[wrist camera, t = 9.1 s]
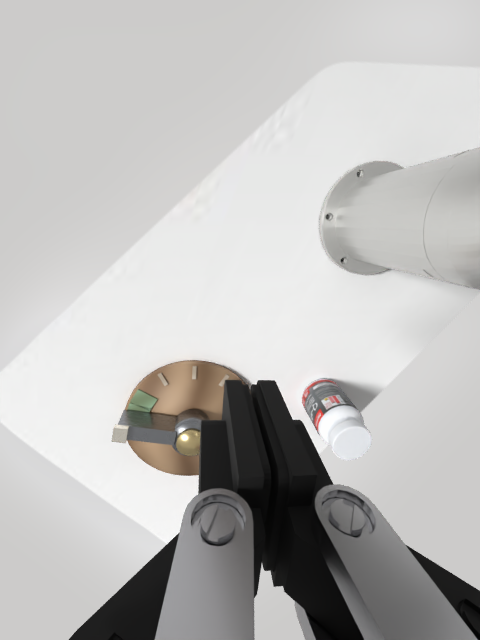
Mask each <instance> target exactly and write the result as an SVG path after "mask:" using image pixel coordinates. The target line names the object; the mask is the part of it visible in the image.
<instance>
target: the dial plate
mask: <svg viewBox="0 0 480 640" xmlns="http://www.w3.org/2000/svg"><path fill="white" fill-rule="evenodd" d="M225 380H242V379H241V378H240V377H238V376H237V375H236V374H235V373H233V372H232V371H230V370H229V369H227V368H225V367H223V366H220V365H217V364H214V363H211V362H206V361H197V360H190V361H180V362H175V363H171V364H168V365H165V366H163V367H160V368H158V369H157V370H155V371H153V372H151V373H150V374H149V375H147V376H146V377H145V378H144V379H143V380H142V381H141V382H140V383H139V384H138V385H137V386H136V388H135V389H134V390H133V392H132V394H131V396H130V398H129V400H128V403H127V405H126V408H125V410H130V411H138V412H145V413H152V414H160V415H167V416H174V417H176V416H177V415H178V414H179V413H181V412H183V411H185V410H188V409H197V410H201V411H203V412H204V413H206V414H207V415H208V417H209V419H210V420H222V408H223V395H224V383H225ZM242 384H245V383H244V382H243V380H242ZM249 391H250V390H249ZM250 394H251V391H250ZM127 441H128V443H129V445H130V446H131V448H132V449H133V451H134V452H135V453H136V454H137V456H138V457H139V458H141V459H142V460H143V461H144V462H145V463H147V464H149V465H150V466H152V467H154V468H156V469H158V470H160V471H163V472H166V473H170V474H175V475H186V476H191V475H199V455H200V454H199V455H196V456H184V455H181V454H179V453H178V452H176V451H175V450H174V448H173V447H172V445H167V444H158V443H150V442H141V441H133V440H127Z"/></svg>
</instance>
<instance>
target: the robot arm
mask: <svg viewBox="0 0 480 640" xmlns="http://www.w3.org/2000/svg"><path fill="white" fill-rule="evenodd" d="M357 173H358V176H357ZM326 215H328V219H326ZM319 232H320V238H321V242H322V245H323V248H324V250H325V252H326V253H327V255H328V257H329V258H330V259H331V260H332V261H333V262H334V263H335V264H336V265H337V266H339V267H340V268H342V269H344V270H346V271H349V272H352V273H355V274H362V275H370V274H377V273H380V272H383V271H386V270H388V269H389V268H390V269H394V270H399V271H403V272H407V273H411V274H415V275H419V276H423V277H427V278H432V279H436V280H440V281H444V282H448V283H452V284H457V285H461V286H465V287H469V288H474V289H480V148H476V149H472V150H468V151H465V152H461V153H457V154H454V155H450V156H447V157H443V158H439V159H436V160H432V161H429V162H425V163H421V164H418V165H414V166H411V167H407V168H404V167H402V166H400V165H398V164H396V163H392V162H388V161H374V162H369V163H365V164H362V165H360V166H357V167H355V168H353V169H352V170H350V171H348V172H347V173H345V174H344V175H343V176H342V177H341V178H339V179H338V181H337V182H336V183H335V184H334V185H333V187H332V188H331V189H330V191H329V193H328V194H327V196H326V198H325V201H324V203H323V206H322V209H321V214H320V219H319ZM341 259H343V260H342V262H341ZM261 563H262V564H263V568H264V570H265V571H269V570H271V575H272V580H273V585H274V587H275V586H283V587H284V591H285V592H286V593H287V594H288V595H289V596H290V597H291V598H292V599H293V600H295V608H296V612H297V617H298V620H299V623H300V625H301V628H302V631H303V634H304V637H305V639H306V640H480V591H479V590H477V589H476V588H474V587H473V586H471V585H469V584H468V583H466V582H465V581H463V580H461V579H460V578H458V577H457V576H455V575H453V574H452V573H450V572H448V571H447V570H445V569H444V568H442V567H440V566H439V565H437V564H436V563H434V562H432V561H431V560H429V559H428V558H426V557H424V556H423V555H421V554H420V553H418V552H416V551H414V550H413V549H412V548H410V547H408V546H407V545H405V544H404V543H403V541H402V540H401V539H400V537H399V536H398V535H397V533H396V532H395V531H394V530H393V528H392V527H391V526H390V524H389V523H388V522H387V521H386V519H385V518H384V517H383V515H382V514H381V513H380V511H379V510H378V509H377V508H376V506H375V505H374V504H373V503H372V502H371V501H370V500H369V499H368V498H367V497H366V496H365V495H363V494H362V493H360V492H359V491H357V490H355V489H353V488H350V487H348V486H344V485H333V483H332V481H331V479H330V477H329V475H328V473H327V471H326V469H325V467H324V465H323V463H322V461H321V458H320V456H319V454H318V452H317V450H316V448H315V446H314V444H313V442H312V440H311V438H310V436H309V434H308V432H307V430H306V428H305V426H304V424H303V423H302V421H300V420H292V417H291V415H290V413H289V411H288V408H287V406H286V404H285V402H284V400H283V397H282V395H281V393H280V391H279V388H278V386H277V384H276V382H275V381H271V380H258V382H257V385H252V386H251V394H250V391H249V387H248V385H247V384H242V380H225V383H224V395H223V408H222V420H201V432H200V455H199V494H198V495H197V496H195V497H194V498H193V499H192V500H191V502H190V503H189V504H188V505H187V508H186V510H185V513H184V516H183V520H182V524H181V529H180V533H179V534H178V535H176V536H175V537H174V538H173V539H172V540H171V541H170V542H169V543H168V544H167V545H166V546H165V547H164V548H163V549H162V550H161V551H160V552H159V553H158V554H157V555H155V556H154V558H152V559H151V560H150V561H149V562H148V563H147V564H146V565H145V566H144V567H143V568H142V569H141V570H140V571H139V572H138V573H137V574H136V575H134V576H133V577H132V578H131V579H130V580H129V581H128V582H127V583H126V584H125V585H124V586H123V587H122V588H121V589H120V590H119V591H118V592H117V593H116V594H115V595H114V596H112V597H111V598H110V599H109V600H108V601H107V602H106V603H105V604H104V605H103V606H102V607H101V608H100V609H99V610H98V611H97V612H96V613H95V614H94V615H92V617H90V618H89V619H88V620H87V621H86V622H85V623H84V624H83V625H82V626H81V627H80V628H79V629H78V630H77V631H76V632H75V633H74V634H73V635H72V637H71V638H70V639H69V640H254V598H255V596H256V595H257V590H258V584H259V577H260V570H261Z"/></svg>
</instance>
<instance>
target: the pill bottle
mask: <svg viewBox="0 0 480 640" xmlns="http://www.w3.org/2000/svg"><path fill="white" fill-rule="evenodd" d="M302 403H303V406H304V408H305V410H306V412H307V414H308V415H309V417H310V419H311V421H312V423H313V424H314V426H315V428H316V430H317V432H318V434H319V435H320V437H321V438H322V440H323V441H324V442H325V443H327V444H328V445H330V447H331V449H332V450H333V452H334V454H335V455H336V456H337V457H338V458H340V459H343V460H354V459H357V458H359V457H360V456H362V455H364V454H365V453H366V452H367V450H368V449H369V448H370V445H371V442H372V437H371V434H370V432H369V431H368V429H367V428H366V427H365V425H364V421H363V417H362V415H361V413H360V412H359V411H358V409H357V408H356V407H355V406H354V405H353V403H352V402H351V401H350V400H349V398H348V397H347V396H346V395H345V394H344V392H343V391H342V390H341V389H340V387H339V386H338V385H337V384H336V383H335V382H333V381H331V380H329V379H318V380H315V381H313V382H311V383H310V384H309V385H308V386H307V387H306V388H305V390H304V391H303V394H302Z"/></svg>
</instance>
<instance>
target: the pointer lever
mask: <svg viewBox="0 0 480 640" xmlns="http://www.w3.org/2000/svg"><path fill="white" fill-rule="evenodd" d="M201 420H210V419H209V417H208V415H207V414H206V413H204V412H203V411H201V410H197V409H188V410H185V411H183V412H181V413H179V414H178V415H177V416H176V417H174V416H167V415H160V414H152V413H145V412H138V411H130V410H124V411H123V414H122V416H121V418H120V421H119V423H118V425H116V424H115V426H114V429H113V436H112V442H119V443H126V441H127V440H133V441H141V442H150V443H158V444H167V445H172V447H173V448H174V450H175V451H176V452H178V453H179V454H181V455H184V456H196V455H199V454H200V432H201Z"/></svg>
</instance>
